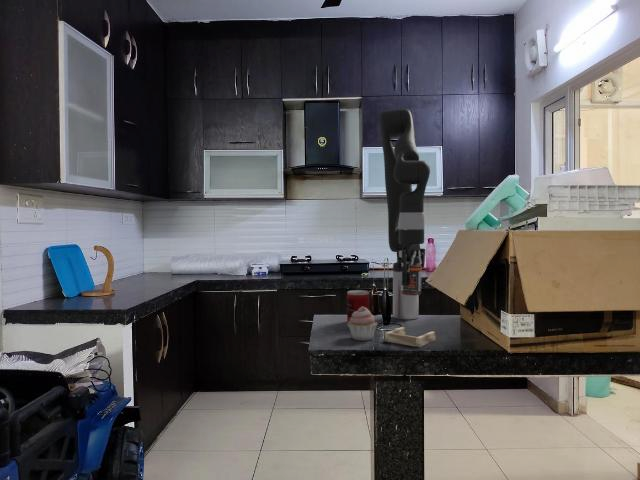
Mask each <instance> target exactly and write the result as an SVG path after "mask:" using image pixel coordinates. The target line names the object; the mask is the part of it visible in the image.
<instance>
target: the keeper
mask: <svg viewBox="0 0 640 480" xmlns="http://www.w3.org/2000/svg"><path fill="white" fill-rule="evenodd" d="M386 341H387V343H394V344H397V345H398V344H399V345H405V346H411V347H417V348H421V347H423V346H425V345H427V344H430V343H431V342H432V343H433V342H434V341H436V331H433V330H432V331H429V332H427V333H425V334H422V335H419V336H414V335H408V334H406V327H404V326H403V327H402V326H401V327H398V328H395V329H393V330H390V331H386V332H385V333H384V342H386Z"/></svg>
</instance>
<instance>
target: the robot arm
mask: <svg viewBox="0 0 640 480" xmlns="http://www.w3.org/2000/svg"><path fill="white" fill-rule="evenodd" d="M413 119H414V118H413V116H412V113H411V111H410V110H409V109H408V108H398V109H391V110H389V109H388V110H382V111H381V112H380V115H379V131H380V137H381V139H380V140H381V144H382V152H383V154H382V155H383V163H384V164H383V165H384V182H385V183H384V184H385V185H384V186H385V194H386V203H387V220H388V221H387V222H388V223H387V224H388V225H387V227H388V230H387V232H388V236H387V237H388V246H389V249H390V251H391V252H392V253H396V262H394V263H393V264H392V317H393V318H394V319H397V320H416V319H418V318H419V312H420V311H419V308H420V307H419V306H420V305H419V301H420V300H419V296H420V295H404V294H402V292H401V283H402V284H403V285H406V286H408V285H410V273H409V272H410V269H411V266H412V265H413V262H414V258H415V257H419V261H418V262H419V264H421V266H422V269H425V261H426V249H425V248H421V245H423V244H424V243H425V215H424V210H425V209H424V208H425V207H424V205H425V203H424V199H425V193H426V189H427V185H428V182H429V178H430V173H431V169H430V168H431V167H430V164H429V163H428V162H427V161H426V160H420V155H419V151H418V148H417V145H416V138H415V136H416V135H415V128H414V120H413ZM392 138H398V139H397V140H396V142H395V144H394V145H393V144H392V141H391V139H392ZM412 185H416V187H415V189H414V190H413V187H412ZM407 265H408V267H407ZM401 281H402V282H401Z"/></svg>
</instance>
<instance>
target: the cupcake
mask: <svg viewBox="0 0 640 480" xmlns="http://www.w3.org/2000/svg"><path fill="white" fill-rule="evenodd" d="M346 324H347V326H348V328H349V331H350V335H351V338H352V339H353V340H355V341H361V342H367V341H371V340H373V338H374V335H375V330H376V328H377V326H378V322H376V321H375V316H374V315H373V314H372V313H371V311H370V309H369V310H368V309H367V308H365V307H363V306H362V307H361V308H359V309H358V311H356V312H353V314H352V316H351V318H350V322H348V321H347V323H346Z"/></svg>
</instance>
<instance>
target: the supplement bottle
mask: <svg viewBox="0 0 640 480" xmlns="http://www.w3.org/2000/svg"><path fill="white" fill-rule="evenodd" d="M418 261H419V257H415V258H414V262H413V265H412V266H411V269H410V272H409V273H410V285H408V286H406V285H403V284H402V283H401V292H402V294H404V295H419V296H420V295H421V294H422V275H423V274H422V273H423V272H422V271H423V270H422V269H423V268H422V266H421V264H419V262H418ZM407 267H408V265H407ZM401 282H402V281H401Z"/></svg>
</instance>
